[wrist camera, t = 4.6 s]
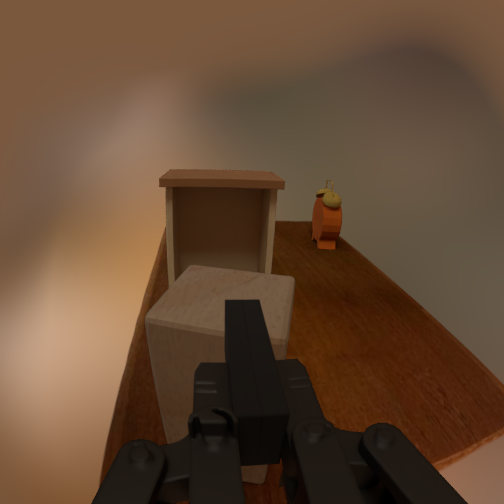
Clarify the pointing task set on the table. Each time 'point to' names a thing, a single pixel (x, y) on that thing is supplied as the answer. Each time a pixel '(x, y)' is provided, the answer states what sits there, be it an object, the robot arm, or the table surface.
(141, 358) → the table surface
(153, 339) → the wooden block
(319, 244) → the alarm clock
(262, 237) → the desk
